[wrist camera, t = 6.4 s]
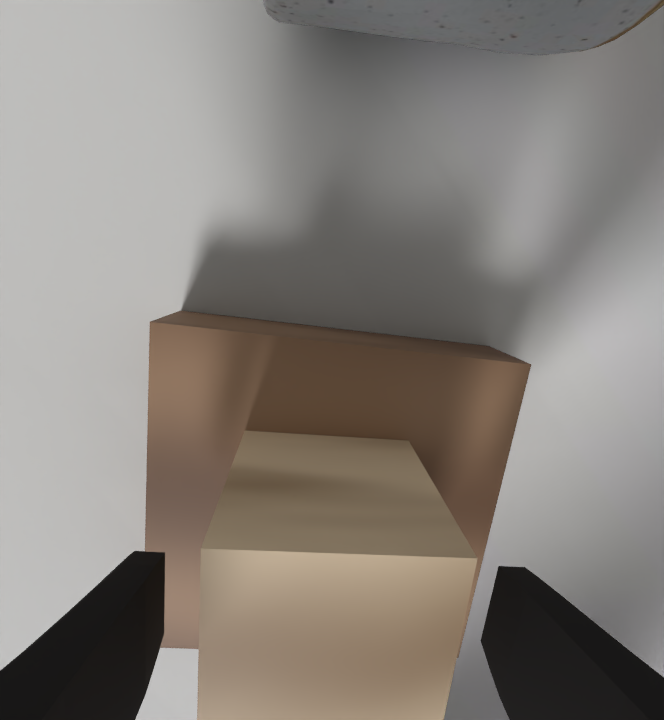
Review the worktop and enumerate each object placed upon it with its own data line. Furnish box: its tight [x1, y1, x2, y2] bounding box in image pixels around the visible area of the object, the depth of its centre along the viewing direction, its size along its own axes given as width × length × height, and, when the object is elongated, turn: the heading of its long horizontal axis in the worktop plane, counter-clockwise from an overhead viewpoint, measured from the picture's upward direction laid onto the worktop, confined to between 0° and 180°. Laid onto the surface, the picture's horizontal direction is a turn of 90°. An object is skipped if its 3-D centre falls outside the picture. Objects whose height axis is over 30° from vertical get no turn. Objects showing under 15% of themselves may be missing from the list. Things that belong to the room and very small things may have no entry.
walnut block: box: [145, 311, 531, 658], centre depth 13 cm, size 10×10×3 cm
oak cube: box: [197, 431, 478, 720], centre depth 9 cm, size 4×4×4 cm
